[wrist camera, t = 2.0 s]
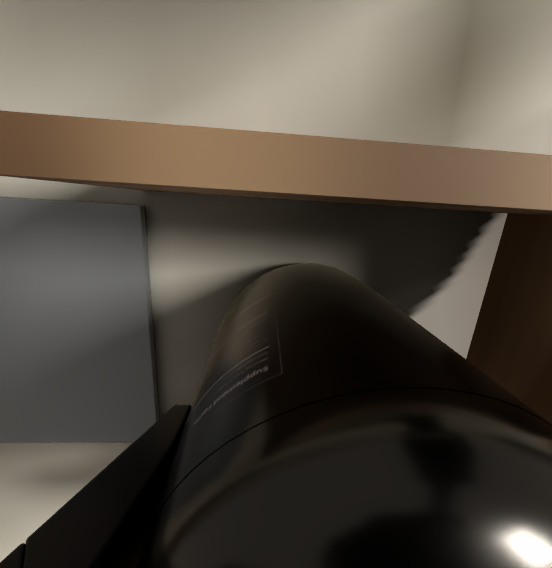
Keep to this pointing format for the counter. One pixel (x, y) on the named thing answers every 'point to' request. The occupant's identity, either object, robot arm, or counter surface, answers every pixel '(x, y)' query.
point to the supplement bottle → (349, 444)
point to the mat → (75, 322)
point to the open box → (334, 188)
